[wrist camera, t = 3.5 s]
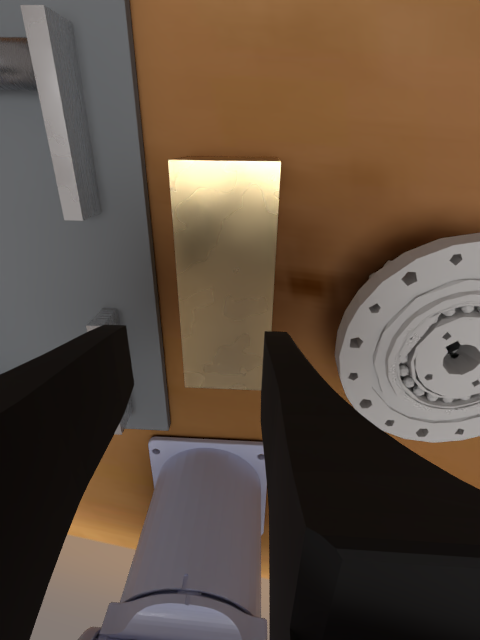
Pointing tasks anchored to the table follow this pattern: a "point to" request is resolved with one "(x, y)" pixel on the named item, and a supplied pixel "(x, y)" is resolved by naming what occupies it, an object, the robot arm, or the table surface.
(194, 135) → the table surface
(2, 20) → the join mat
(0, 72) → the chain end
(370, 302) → the mechanical component
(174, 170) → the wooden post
